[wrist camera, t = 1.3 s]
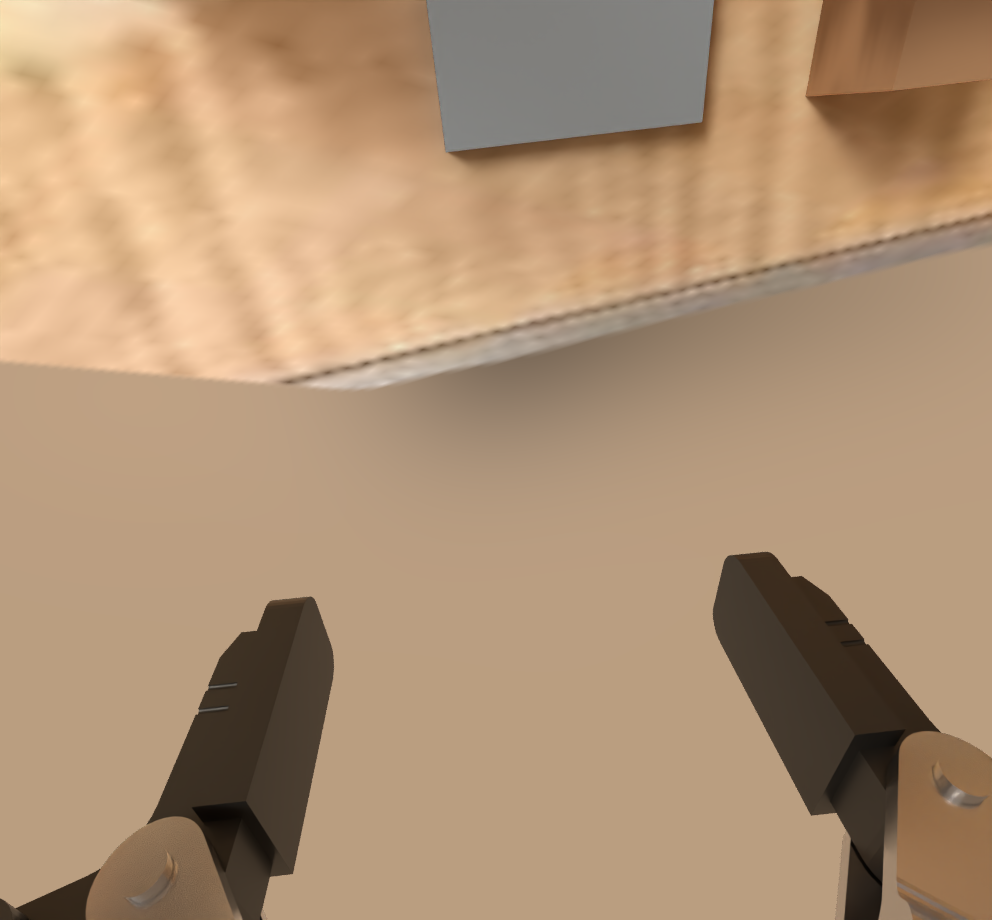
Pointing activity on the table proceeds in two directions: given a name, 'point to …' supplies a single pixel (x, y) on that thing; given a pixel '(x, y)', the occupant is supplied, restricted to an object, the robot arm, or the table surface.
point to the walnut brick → (900, 45)
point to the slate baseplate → (566, 67)
